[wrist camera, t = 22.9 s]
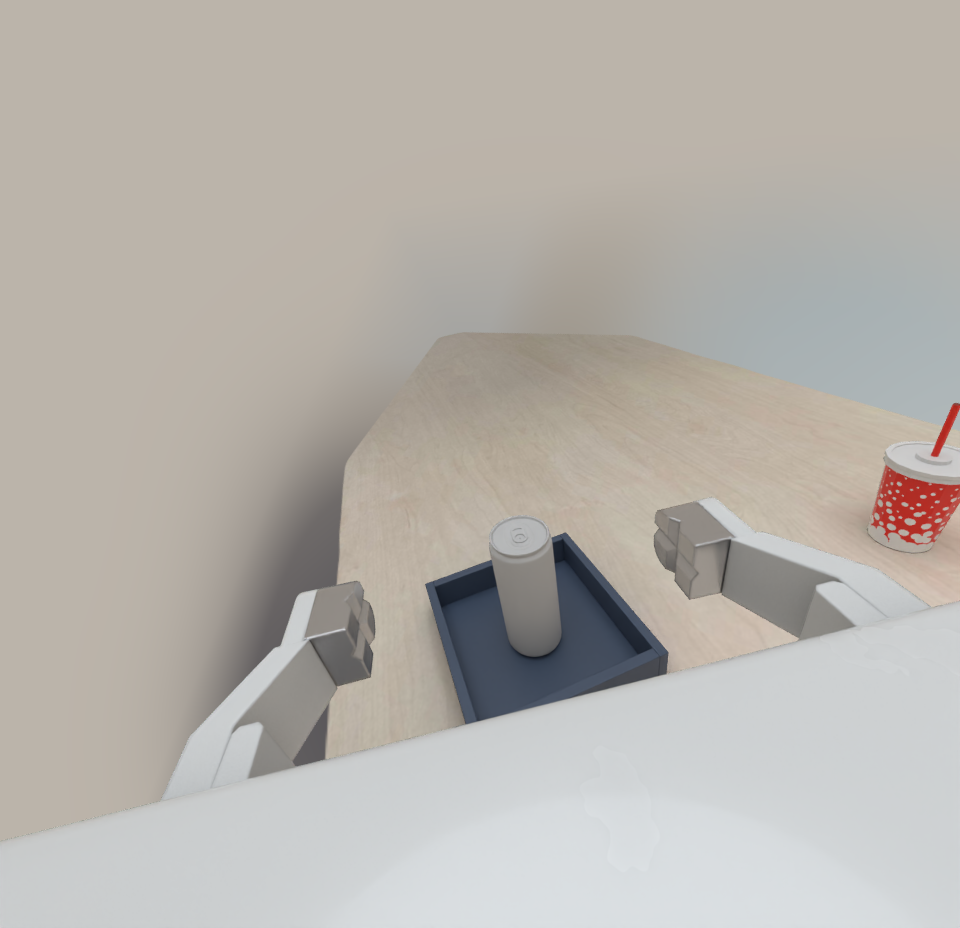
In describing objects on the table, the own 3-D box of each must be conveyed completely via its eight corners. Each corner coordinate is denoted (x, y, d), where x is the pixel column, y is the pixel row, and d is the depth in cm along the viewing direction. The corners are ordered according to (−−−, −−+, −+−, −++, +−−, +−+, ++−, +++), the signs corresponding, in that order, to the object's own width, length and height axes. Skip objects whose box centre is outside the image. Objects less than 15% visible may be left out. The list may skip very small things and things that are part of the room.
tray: (480, 768, 29) (471, 742, 27) (433, 608, 42) (425, 583, 40) (666, 680, 32) (668, 652, 30) (568, 556, 45) (565, 531, 43)
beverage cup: (944, 568, 36) (1021, 426, 29) (853, 543, 40) (902, 413, 33) (944, 529, 40) (1012, 394, 33) (860, 510, 44) (906, 386, 37)
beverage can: (515, 666, 35) (493, 563, 29) (503, 620, 39) (482, 521, 33) (569, 653, 35) (559, 547, 29) (552, 608, 39) (540, 508, 33)
